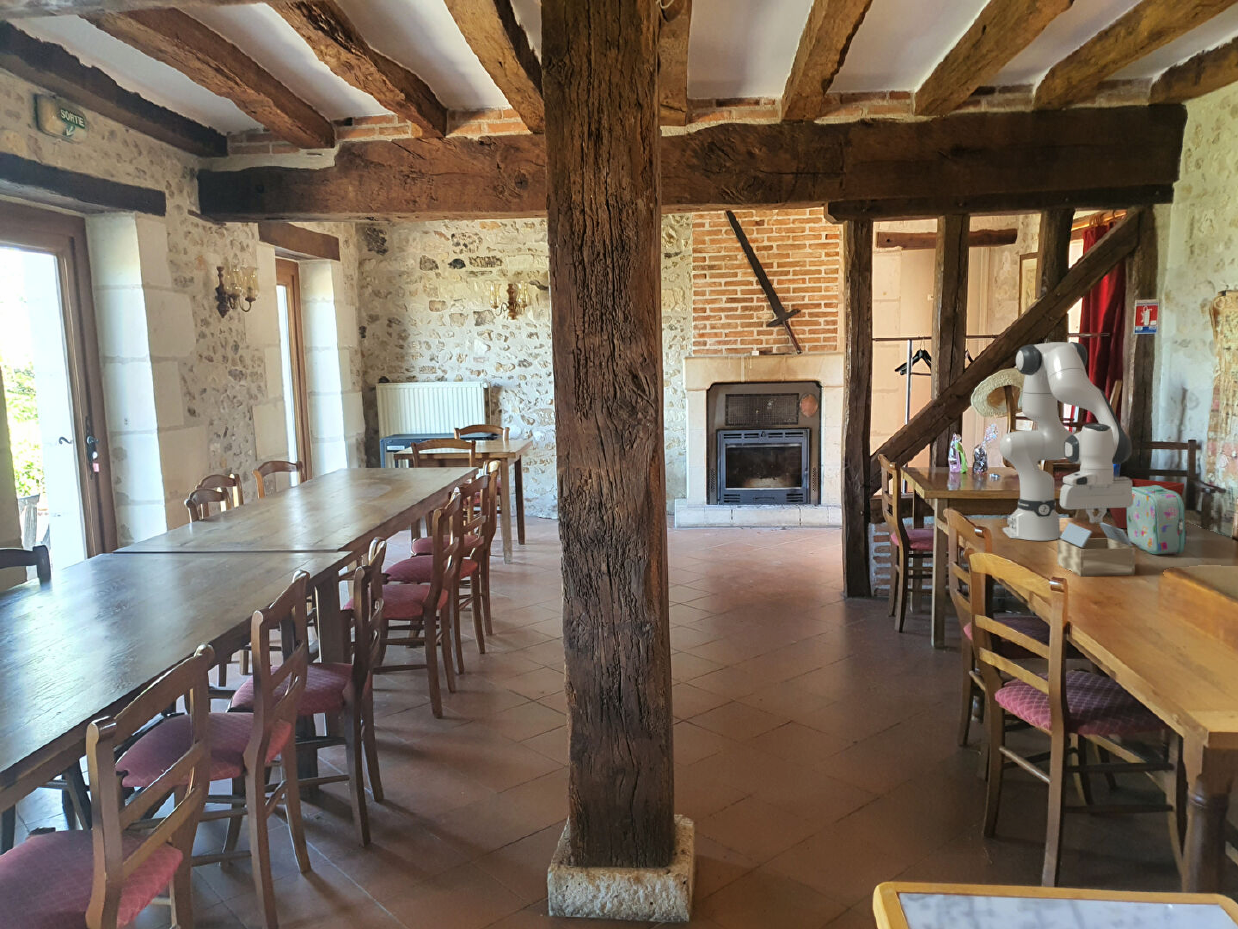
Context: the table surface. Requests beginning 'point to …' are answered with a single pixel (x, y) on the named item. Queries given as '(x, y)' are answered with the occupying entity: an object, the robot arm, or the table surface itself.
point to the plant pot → (1121, 513)
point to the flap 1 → (1076, 535)
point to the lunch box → (1156, 520)
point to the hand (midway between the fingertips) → (1095, 522)
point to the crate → (1097, 557)
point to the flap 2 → (1115, 533)
